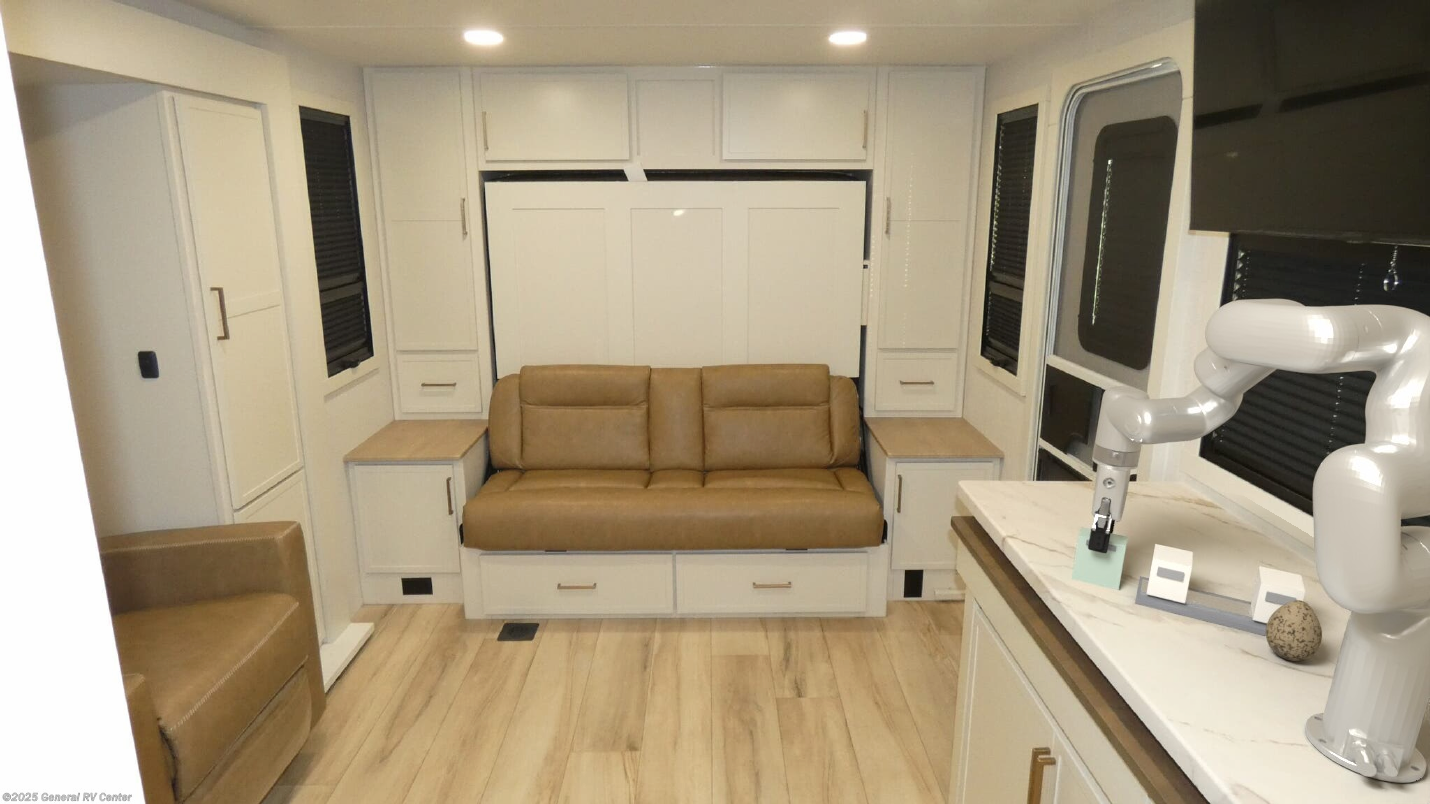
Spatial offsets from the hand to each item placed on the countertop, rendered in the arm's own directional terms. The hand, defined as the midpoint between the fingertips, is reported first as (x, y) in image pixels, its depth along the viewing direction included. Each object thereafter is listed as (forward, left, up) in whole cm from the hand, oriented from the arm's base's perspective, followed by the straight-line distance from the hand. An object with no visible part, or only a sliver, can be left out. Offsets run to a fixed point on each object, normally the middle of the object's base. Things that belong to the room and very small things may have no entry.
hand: (1100, 541), depth 150 cm
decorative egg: (-12, -30, -8) cm, 33 cm away
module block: (0, 0, -8) cm, 8 cm away
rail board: (-1, -20, -8) cm, 21 cm away
